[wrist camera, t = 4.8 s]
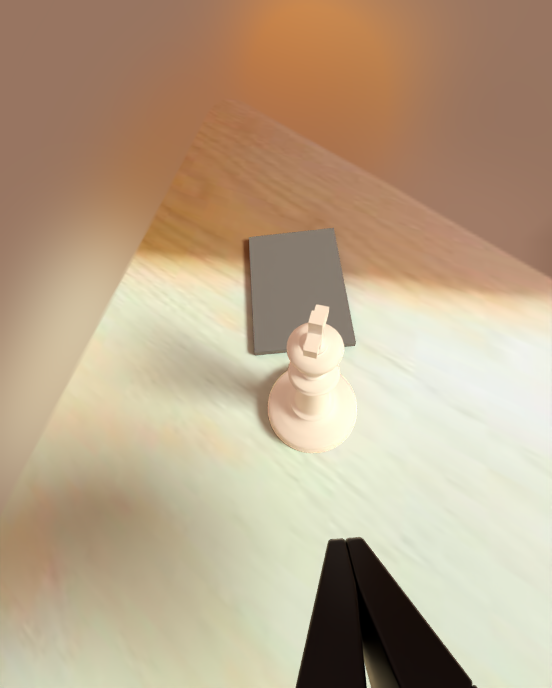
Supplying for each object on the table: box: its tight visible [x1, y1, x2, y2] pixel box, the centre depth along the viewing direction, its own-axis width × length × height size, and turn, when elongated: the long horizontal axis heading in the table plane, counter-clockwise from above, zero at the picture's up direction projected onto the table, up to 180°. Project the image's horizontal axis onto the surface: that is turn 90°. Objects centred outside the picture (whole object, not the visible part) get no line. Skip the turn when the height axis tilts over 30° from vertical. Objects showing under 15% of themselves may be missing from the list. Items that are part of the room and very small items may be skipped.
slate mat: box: [249, 228, 356, 355], centre depth 23 cm, size 9×6×1 cm, turn 4°
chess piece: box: [268, 304, 357, 453], centre depth 15 cm, size 5×5×10 cm
